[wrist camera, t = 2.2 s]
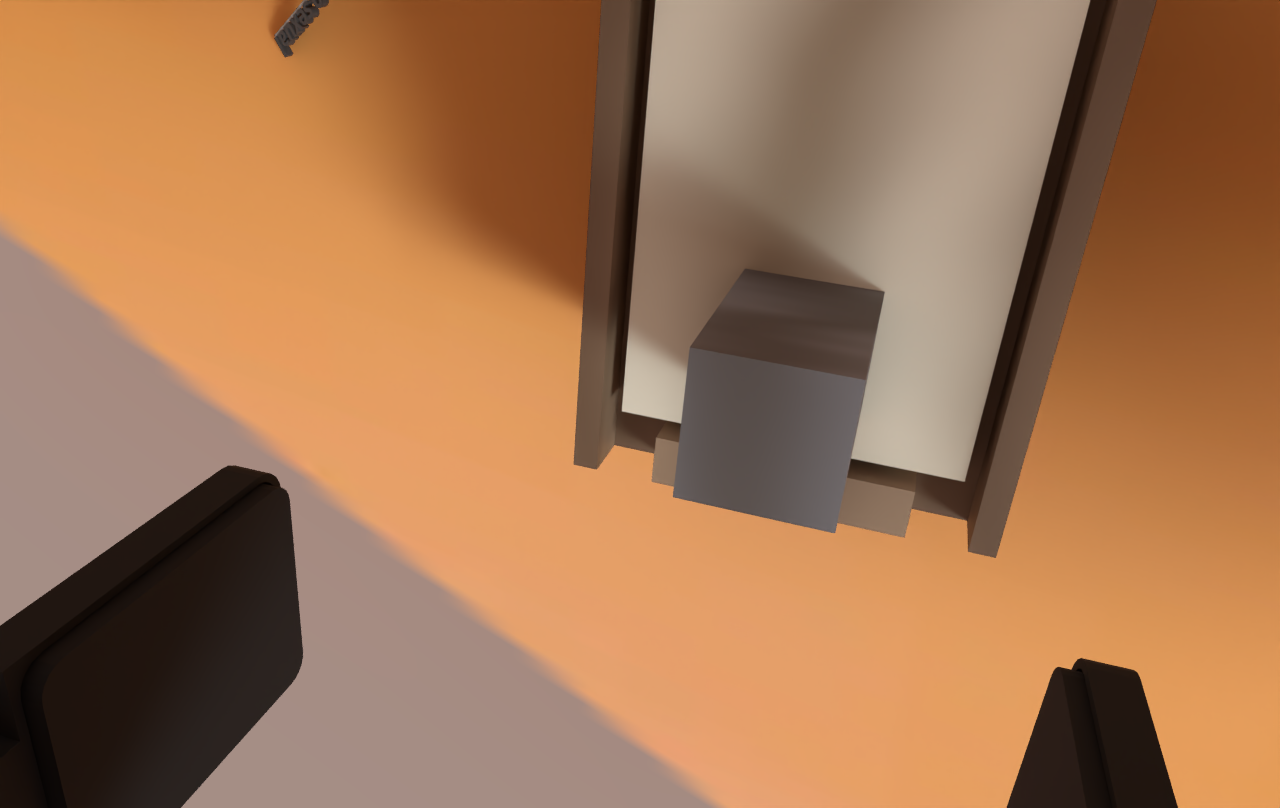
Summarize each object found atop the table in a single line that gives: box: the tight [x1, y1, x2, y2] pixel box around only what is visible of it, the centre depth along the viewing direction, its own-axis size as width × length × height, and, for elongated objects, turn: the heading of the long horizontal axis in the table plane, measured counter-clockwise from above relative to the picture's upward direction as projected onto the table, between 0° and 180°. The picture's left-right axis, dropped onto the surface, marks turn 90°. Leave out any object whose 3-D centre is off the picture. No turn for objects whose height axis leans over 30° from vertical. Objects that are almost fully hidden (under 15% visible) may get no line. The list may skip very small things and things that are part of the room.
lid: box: [622, 0, 1090, 533], centre depth 18 cm, size 8×14×6 cm, turn 175°
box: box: [574, 0, 1157, 558], centre depth 23 cm, size 10×16×8 cm, turn 175°
